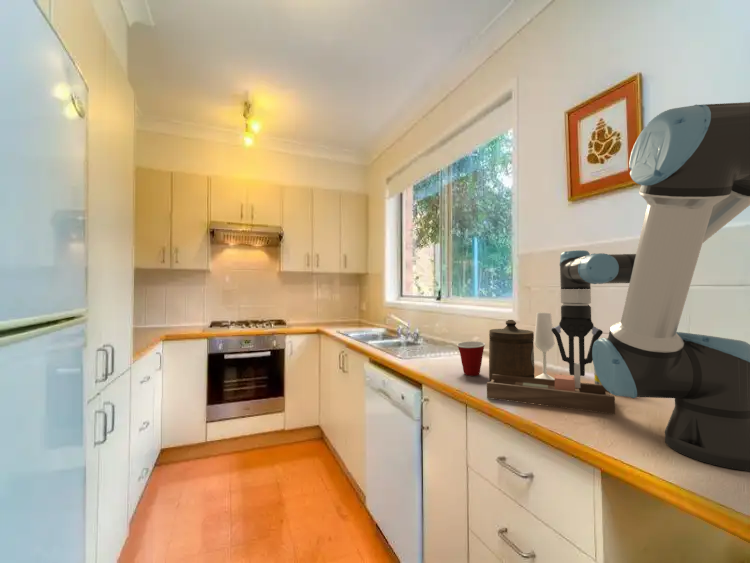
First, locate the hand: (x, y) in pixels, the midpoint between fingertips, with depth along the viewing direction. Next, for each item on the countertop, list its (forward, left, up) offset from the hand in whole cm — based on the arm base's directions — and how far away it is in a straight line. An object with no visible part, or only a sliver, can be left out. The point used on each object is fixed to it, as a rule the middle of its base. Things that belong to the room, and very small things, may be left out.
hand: (577, 386), depth 98 cm
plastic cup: (+21, +34, -5) cm, 40 cm away
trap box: (0, +8, -5) cm, 9 cm away
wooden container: (+15, +19, -5) cm, 25 cm away
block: (0, +3, -2) cm, 4 cm away
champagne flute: (+26, +8, -5) cm, 28 cm away
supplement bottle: (+19, -9, -5) cm, 22 cm away
